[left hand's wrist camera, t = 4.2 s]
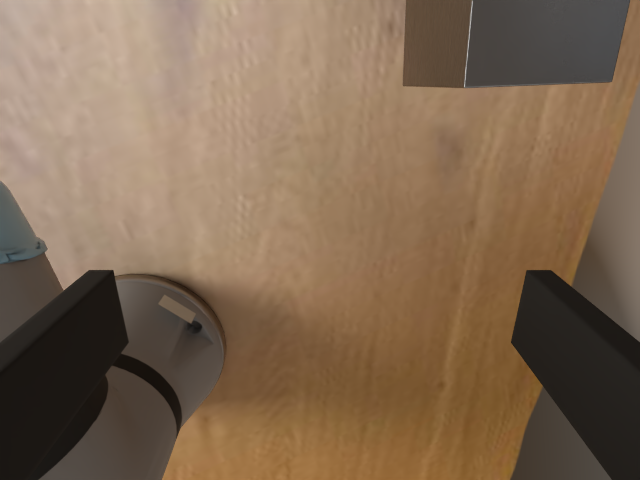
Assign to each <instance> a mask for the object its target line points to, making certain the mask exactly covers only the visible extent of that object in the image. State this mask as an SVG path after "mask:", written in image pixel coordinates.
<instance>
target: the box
mask: <svg viewBox="0 0 640 480" xmlns="http://www.w3.org/2000/svg"><path fill="white" fill-rule="evenodd" d="M629 3H630V0H406V17H405V42H404V68H403V86H415V87H447V88H479V87H504V86H529V85H554V84H579V83H604V82H612V79H613V75H614V70H615V66H616V61H617V57H618V52H619V48H620V44H621V39H622V35H623V30H624V26H625V21H626V17H627V12H628V8H629Z"/></svg>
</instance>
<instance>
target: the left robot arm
mask: <svg viewBox="0 0 640 480" xmlns="http://www.w3.org/2000/svg"><path fill="white" fill-rule="evenodd" d="M46 251H47V247H46V245H45V242H44V241H42V240H41V239H40V238H38V237H36V235H35V233H34V232H33V230H32V228H31V226H30V225H29V223H28V221H27V219H26V218H25V216H24V214H23V212H22V211H21V209H20V207H19V206H18V204H17V202H16V200H15V199H14V197H13V195H12V193H11V192H10V190H9V189H8V188H7V187H6V186H5V185H4V184H3V183H2V182H1V181H0V480H162V478H163V475H164V472H165V469H166V467H167V464H168V461H169V458H170V456H171V453H172V450H173V447H174V444H175V441H176V438H177V436H178V433H179V431H180V428H181V427H182V426H183V424H184V423H185V422H186V421H187V420H188V419H189V417H190V416H191V415H192V414H193V413H194V412H195V410H196V409H197V408H198V407H199V406H200V405H201V403H202V402H203V401H204V400H205V399H206V398H207V396H208V395H209V394H210V393H211V391H212V390H213V388H214V386H215V384H216V383H217V381H218V379H219V376H220V374H221V371H222V368H223V364H224V360H225V355H226V342H225V336H224V332H223V329H222V327H221V324H220V322H219V320H218V319H217V317H216V315H215V314H214V312H213V311H212V310H211V309H210V307H209V306H208V305H207V304H206V303H205V302H204V301H203V300H202V299H201V298H200V297H198V296H197V295H196V294H194V293H193V292H192V291H190V290H188V289H187V288H185V287H183V286H181V285H179V284H177V283H175V282H172V281H170V280H167V279H164V278H160V277H156V276H150V275H141V274H128V275H119V276H114V271H113V270H89V271H88V272H86V273H85V274H84V275H83V276H81V277H80V278H79V279H78V280H76V281H75V282H74V283H73V284H72V285H70V286H69V287H68V288H67V289H65V290H64V291H63V289H62V287H61V285H60V283H59V281H58V279H57V277H56V275H55V273H54V271H53V269H52V267H51V265H50V263H49V261H48V259H47V257H46V255H45V253H44V252H46ZM511 343H512V344H513V346H514V347H515V349H516V350H517V351H518V353H519V354H520V355H521V357H522V358H523V359H524V361H525V362H526V363H527V365H528V366H529V368H530V369H531V370H532V372H533V373H534V374H535V376H536V377H537V378H538V380H539V381H540V383H541V384H542V385H543V387H544V388H545V389H546V391H547V392H548V393H549V395H550V396H551V397H552V399H553V400H554V401H555V403H556V404H557V406H558V407H559V408H560V410H561V411H562V412H563V414H564V415H565V416H566V418H567V419H568V421H569V422H570V423H571V425H572V426H573V427H574V429H575V430H576V431H577V433H578V434H579V436H580V437H581V438H582V439H583V441H584V442H585V444H586V445H587V446H588V448H589V449H590V450H591V452H592V453H593V454H594V456H595V457H596V459H597V460H598V461H599V463H600V464H601V465H602V467H603V468H604V470H605V471H606V472H607V474H608V475H609V476H610V478H611V479H612V480H640V342H639V341H637V340H636V339H635V338H634V337H632V336H631V335H630V334H629V333H628V332H626V331H625V330H624V329H623V328H621V327H620V326H619V325H618V324H616V323H615V322H614V321H613V320H612V319H610V318H609V317H608V316H607V315H605V314H604V313H603V312H602V311H600V310H599V309H598V308H597V307H596V306H594V305H593V304H592V303H591V302H589V301H588V300H587V299H586V298H584V297H583V296H582V295H581V294H580V293H578V292H577V291H576V290H575V289H573V288H572V287H571V286H570V285H568V284H567V283H566V282H565V281H564V280H562V279H561V278H560V277H559V276H557V275H556V274H555V273H554V272H552V271H551V270H527V271H526V276H525V281H524V285H523V290H522V294H521V299H520V303H519V308H518V313H517V317H516V322H515V326H514V331H513V335H512V340H511Z"/></svg>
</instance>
